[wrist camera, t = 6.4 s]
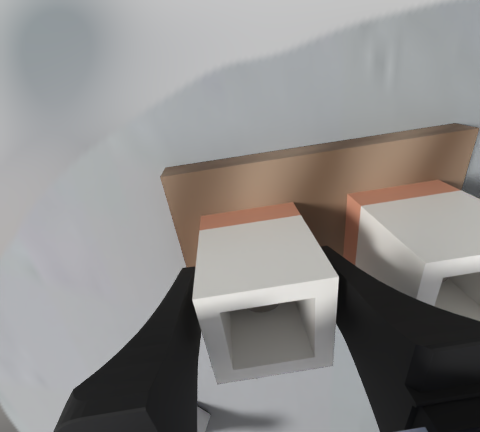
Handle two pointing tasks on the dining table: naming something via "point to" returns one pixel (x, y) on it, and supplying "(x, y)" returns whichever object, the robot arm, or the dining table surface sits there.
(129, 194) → the dining table surface
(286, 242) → the sleeve
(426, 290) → the seated sleeve
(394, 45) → the dining table surface
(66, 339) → the dining table surface
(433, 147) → the pin board
